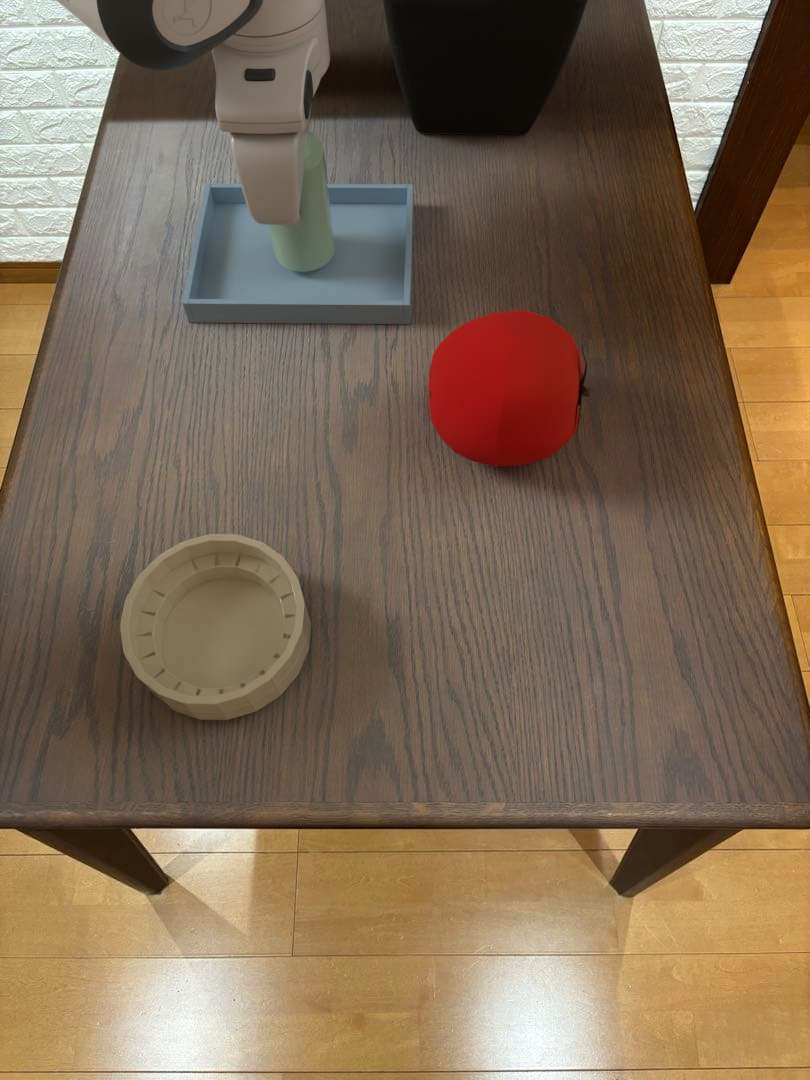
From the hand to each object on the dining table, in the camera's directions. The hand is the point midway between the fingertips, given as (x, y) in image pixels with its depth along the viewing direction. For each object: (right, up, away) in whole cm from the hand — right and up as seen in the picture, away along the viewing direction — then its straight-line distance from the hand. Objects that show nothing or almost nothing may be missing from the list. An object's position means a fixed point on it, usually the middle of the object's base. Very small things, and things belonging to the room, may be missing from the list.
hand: (294, 192), depth 75 cm
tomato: (+19, -22, -2) cm, 29 cm away
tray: (0, -4, +7) cm, 8 cm away
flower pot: (+18, +18, +19) cm, 31 cm away
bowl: (-4, -39, -11) cm, 41 cm away
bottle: (0, -3, +6) cm, 7 cm away
